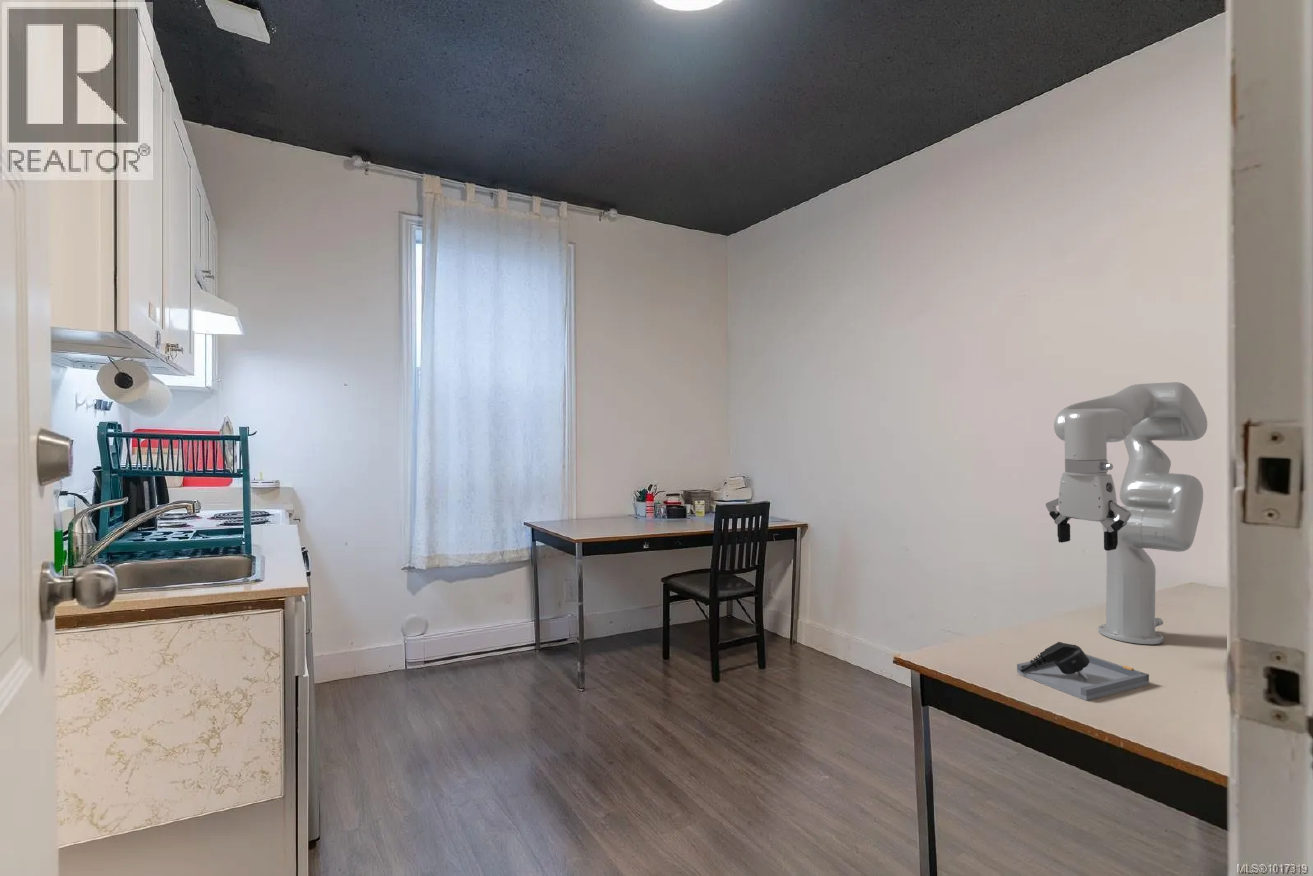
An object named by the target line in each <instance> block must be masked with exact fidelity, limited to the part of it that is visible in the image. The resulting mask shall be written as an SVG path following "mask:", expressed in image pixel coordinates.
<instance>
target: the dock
mask: <svg viewBox="0 0 1313 876" xmlns="http://www.w3.org/2000/svg"><path fill="white" fill-rule="evenodd" d="M1085 655H1086V656H1087V657H1088V659H1089V664H1088V666H1087V667H1085V668H1083V670H1082V671H1083V672H1084V674H1085V675H1086V676H1087V678H1088V679H1087V680H1084V679H1083V678H1082V676H1081V675H1079V674H1078V673H1077V672H1075V673H1074V674H1064V673H1062V672H1061V670H1060V669H1059V668H1058V666H1057V665H1056V664H1055V662H1054V661H1052V662H1050V663H1047V662H1046V664H1044V663H1043V665H1041V666H1039V665H1037V666H1038V667H1036V668H1035V667H1034V666H1033V667H1031V668H1029V669H1027V670H1026V671H1024V672H1021V671H1020V670H1019V669H1021V668H1023V667H1025V666H1027V665H1029V664H1030V663H1031V662H1030V661H1027V662H1022V663H1017V664H1016V674H1017V673H1019V674H1021V675H1022V677H1024V678H1027V679H1029V678H1031V679H1030V680H1032V681H1034V682H1037V683H1039V682H1040V684H1042V685H1044V686H1047V687H1050V688H1052V689H1055V690H1058V691H1060V692H1063V693H1065V694H1068V695H1070V696H1073V697H1075V698H1079V699H1081V700H1083V701H1086V702H1087V701H1091V700H1095V699H1099V698H1102V697H1106V696H1109V695H1115V694H1117V693H1122V692H1126V691H1129V690H1134V689H1136V688H1140V687H1141V688H1142V687H1145V686H1148V685H1150V674H1148V673H1145V672H1142V671H1139V670H1137V669H1134V667H1131V666H1128V665H1121V664H1117V663H1114V662H1111V661H1108V660H1105V659H1103V658H1099V657H1095V656H1092V655H1090V654H1087V653H1085ZM1019 674H1018V675H1019ZM1021 675H1020V676H1021Z"/></svg>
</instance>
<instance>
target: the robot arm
mask: <svg viewBox="0 0 1313 876" xmlns="http://www.w3.org/2000/svg"><path fill="white" fill-rule="evenodd" d="M1053 428H1054V429H1053V430H1054V434H1056V437H1057V438H1058V439H1060V440H1061V441H1063V442H1064V472H1062V474H1061V478H1060V482H1059V487H1058V488H1059V491H1058V498H1056V499H1052V500H1051V501H1048V502H1046V503H1045V506H1046V509H1047V511H1048V512H1049V513H1048V514H1049V516H1050V517H1051V518H1052V519H1053V520H1054V521H1053V522H1054V524H1055V525H1057V528H1056V529H1057V534H1056V535H1057V538H1058V540H1057V541H1058V543H1062V544H1063V543H1067V542H1070V541H1071V524H1070V523H1068V522H1069V521H1070V520H1071V519H1076V520H1083V521H1091V522H1100V524H1101V525H1102V531H1103V550H1104V551H1105V552H1106V554H1105V555H1106V584H1105V585H1106V586H1105V587H1106V589H1105V590H1106V592H1105V593H1106V600H1105V601H1106V604H1105V605H1106V607H1105V610H1106V612H1105V613H1106V614H1105V615H1106V618H1105V624H1104V623H1103V624H1100V625H1099V626H1098V632H1099V634H1101V635H1102V636H1104V637H1106V638H1109V639H1113V640H1116V641H1120V642H1125V643H1130V644H1139V645H1159V644H1162V643H1163V642H1164V636H1163V635H1162V634H1161V633H1159V632H1158V631H1156V627H1160V626H1163V624H1164V620H1163V619H1162V618H1161V617H1156V574H1157V571H1156V566H1155V563H1154V561H1153V559H1152V557H1150V555H1149V554H1148V553H1147V551H1145V549H1151V550H1158V551H1166V552H1179V553H1181V552H1186V551H1188V550H1189V549H1190V548H1191V547H1192V546H1193V543H1194V540H1195V536H1196V534H1197V529H1198V525H1199V521H1200V516H1201V512H1202V508H1203V503H1204V487H1203V485H1202V482H1201V481H1200V480H1199V479H1198V478H1197V477H1196V476H1193V475H1191V474H1185V473H1175V472H1174V473H1173V472H1172V473H1171V472H1170V470H1171V466H1172V465H1171V464H1172V461H1171V459H1170V458H1169V456H1168V455H1167V454H1166V453H1165V451H1164V450H1163V449H1162V448H1160V447H1159V446H1157V445H1156V443H1155V444H1154V442H1153V441H1164V442H1165V441H1167V442H1168V441H1171V442H1172V441H1175V442H1176V441H1177V442H1178V441H1179V442H1180V441H1181V442H1182V441H1183V442H1185V441H1187V442H1188V441H1190V442H1191V441H1197V440H1199V439H1201V438H1203V437H1204V436H1205V434H1206V432H1207V430H1208V418H1207V415H1206V412H1205V411H1204V408H1203V406H1202V405H1201V403H1200V401H1199V400H1198V397H1197V396H1196V394H1195V393H1194V391H1193V390H1192V389H1191V388H1190V387H1189V386H1188V385H1186V384H1184V383H1183V382H1176V381H1175V382H1174V381H1173V382H1153V383H1150V382H1149V383H1137V384H1132V385H1128V386H1127V387H1124V388H1123V389H1121V390H1119V391H1118V392H1116V393H1114V394H1112V395H1111V394H1110V395H1107V396H1102V397H1098V398H1094V399H1089V400H1085V401H1080V402H1076V403H1073V404H1070V405H1068V406H1066V407H1064V408H1063V409H1061V410H1060V411H1059V412H1058V413H1057V415H1056V417H1055V419H1054V423H1053ZM1122 441H1123V442H1124V445H1125V449H1126V452H1127V455H1128V463H1127V466H1126V470H1125V473H1124V475H1123V479H1122V481H1121V482H1122V483H1121V485H1120V486H1121V487H1120V490H1119V498H1120V501H1121V503H1122V504H1123V506H1120V505H1119V504H1118V500H1117V492H1116V488H1115V483H1114V480H1113V476H1112V474H1111V473H1110V474H1109V473H1108V471H1111V470H1113V468H1114V465H1113V464H1112V463H1110V462H1108V459H1107V458H1108V457H1107V456H1108V455H1107V453H1108V451H1107V450H1108V449H1107V443H1118V442H1122ZM1057 506H1058V510H1057Z"/></svg>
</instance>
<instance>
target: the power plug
mask: <svg viewBox="0 0 1313 876" xmlns="http://www.w3.org/2000/svg"><path fill="white" fill-rule="evenodd" d="M1085 654H1086V653H1085V652H1084V651H1083V649H1082V648H1081V647H1080V646H1079V645H1076V644H1070V643H1064V642H1061V641H1057V642H1056V643H1054V644H1052V645H1051V646H1049V647H1047V648H1044V650H1043V651H1041V652H1039V653H1038V654H1037V655H1035V657H1033V659H1030V661H1029V662H1031V663H1030V664H1029V665H1027V666H1025V667H1023V668H1021V669H1019V670H1020V671H1021V672H1024V671H1026V670H1027V669H1029V668H1031V667H1033V666H1034V667H1035V668H1036V667H1038V666H1037V665H1039V666H1041V665H1043V663H1044V664H1046V662H1047V663H1050V662H1052V661H1054V662H1055V664H1056V665H1057V666H1058V668H1059V669H1060V670H1061V672H1062V673H1064V674H1074V673H1075V672H1077V673H1078V674H1079V675H1081V676H1082V678H1083V679H1084V680H1087V679H1088V678H1087V676H1086V675H1085V674H1084V672H1083V671H1082V670H1083V668H1085V667H1087V666H1088V664H1089V659H1088V657H1087V656H1086V655H1085Z"/></svg>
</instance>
